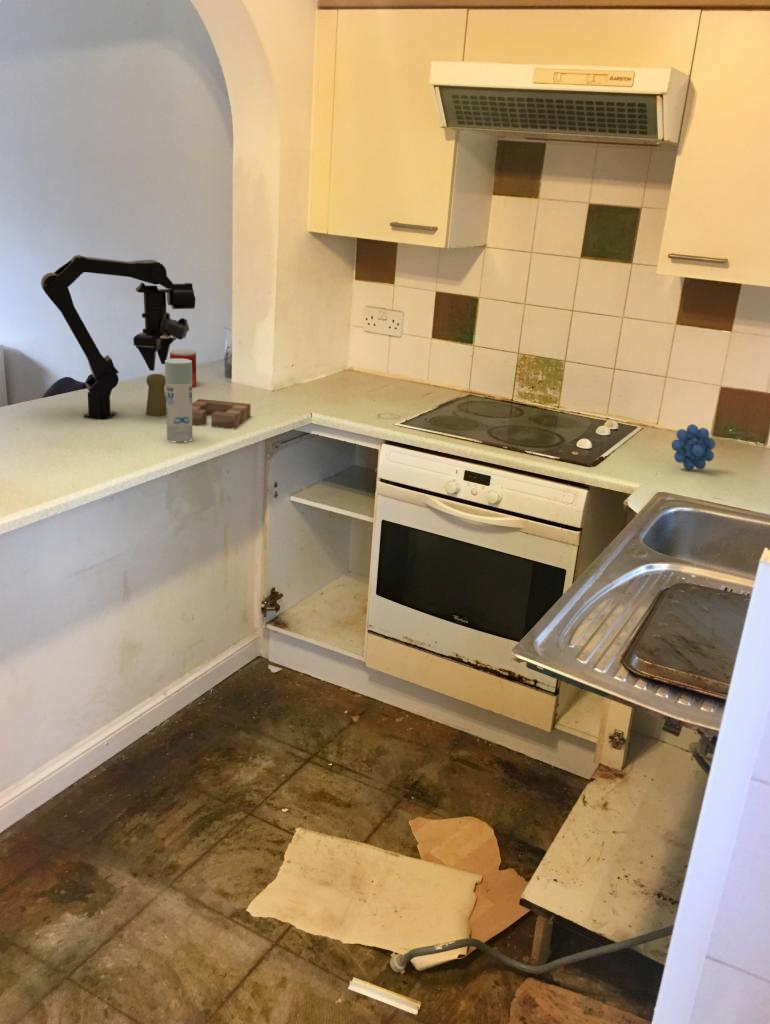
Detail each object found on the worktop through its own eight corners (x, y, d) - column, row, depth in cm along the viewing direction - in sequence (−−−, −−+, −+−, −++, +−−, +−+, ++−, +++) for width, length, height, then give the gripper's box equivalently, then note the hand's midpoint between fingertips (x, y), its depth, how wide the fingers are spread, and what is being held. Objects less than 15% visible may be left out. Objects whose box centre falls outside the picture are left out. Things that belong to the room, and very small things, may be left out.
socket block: (234, 429, 232) (234, 416, 231) (180, 423, 234) (179, 410, 233) (250, 416, 246) (250, 404, 245) (199, 410, 248) (199, 398, 247)
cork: (144, 416, 239) (143, 376, 235) (147, 410, 244) (145, 372, 240) (167, 416, 240) (166, 377, 236) (169, 411, 245) (168, 372, 241)
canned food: (201, 386, 276) (200, 352, 273) (179, 389, 271) (179, 354, 267) (187, 382, 281) (186, 348, 277) (165, 384, 276) (165, 350, 272)
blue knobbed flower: (673, 474, 219) (682, 428, 215) (663, 466, 226) (671, 421, 222) (717, 475, 221) (727, 430, 216) (706, 467, 227) (715, 423, 223)
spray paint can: (195, 442, 218) (194, 363, 211) (169, 443, 216) (167, 363, 209) (189, 435, 224) (188, 358, 217) (164, 436, 221) (162, 358, 214)
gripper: (173, 316, 223) (175, 376, 229) (195, 306, 241) (196, 362, 246) (131, 313, 224) (134, 373, 230) (156, 304, 241) (158, 360, 247)
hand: (157, 367), depth 238 cm, fingers open, 9 cm apart
